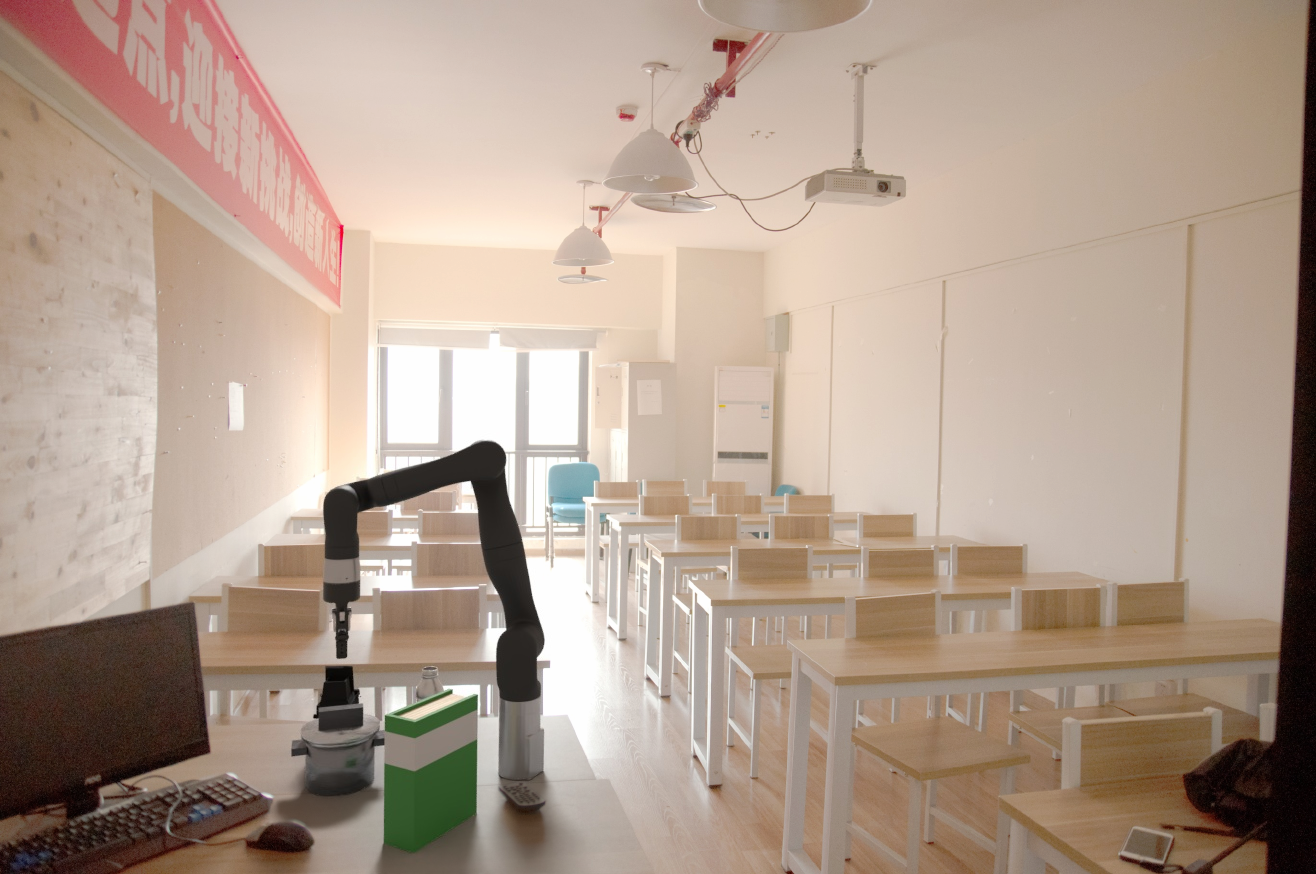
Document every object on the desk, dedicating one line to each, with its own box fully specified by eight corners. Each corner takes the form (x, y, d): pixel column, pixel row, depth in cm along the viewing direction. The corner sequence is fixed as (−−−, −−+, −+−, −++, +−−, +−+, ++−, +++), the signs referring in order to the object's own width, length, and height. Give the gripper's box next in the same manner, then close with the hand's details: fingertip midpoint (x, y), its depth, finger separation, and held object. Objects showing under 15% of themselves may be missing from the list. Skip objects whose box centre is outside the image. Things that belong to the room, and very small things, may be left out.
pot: (385, 762, 192) (385, 714, 192) (389, 789, 179) (389, 737, 178) (292, 774, 185) (293, 724, 185) (289, 802, 171) (290, 749, 171)
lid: (378, 715, 192) (378, 692, 192) (381, 740, 177) (382, 715, 177) (302, 723, 186) (302, 699, 186) (299, 749, 171) (299, 724, 171)
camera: (367, 736, 208) (367, 656, 207) (354, 758, 194) (355, 672, 194) (324, 738, 206) (325, 656, 206) (309, 760, 193) (310, 673, 192)
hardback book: (447, 805, 172) (449, 688, 171) (476, 813, 168) (477, 694, 168) (383, 843, 156) (384, 715, 155) (413, 853, 152) (415, 722, 152)
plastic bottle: (436, 759, 194) (437, 673, 194) (409, 756, 196) (410, 671, 195) (448, 748, 201) (449, 665, 200) (422, 746, 202) (423, 663, 202)
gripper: (361, 583, 176) (361, 660, 176) (359, 571, 189) (358, 643, 189) (322, 585, 173) (322, 663, 173) (323, 573, 186) (322, 646, 187)
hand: (341, 653), depth 181 cm, fingers open, 8 cm apart
